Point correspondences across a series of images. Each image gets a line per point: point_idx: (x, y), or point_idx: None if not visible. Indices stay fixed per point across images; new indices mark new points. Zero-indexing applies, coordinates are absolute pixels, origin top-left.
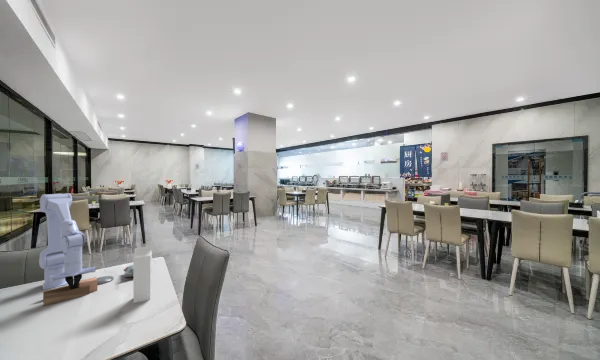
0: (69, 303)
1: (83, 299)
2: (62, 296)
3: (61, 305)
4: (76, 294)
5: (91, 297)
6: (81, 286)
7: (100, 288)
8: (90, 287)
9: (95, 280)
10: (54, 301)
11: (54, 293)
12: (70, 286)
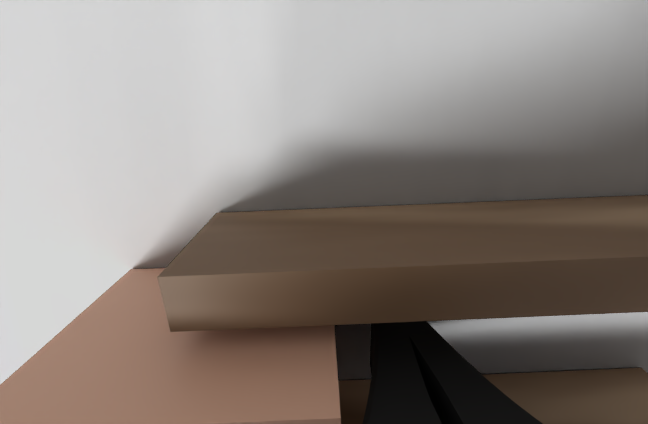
0: (470, 12)
1: (290, 25)
2: (565, 223)
3: (565, 19)
4: (373, 222)
5: (181, 18)
6: (303, 349)
7: None
8: None
9: (3, 414)
10: (619, 203)
11: (588, 419)
12: (506, 404)
